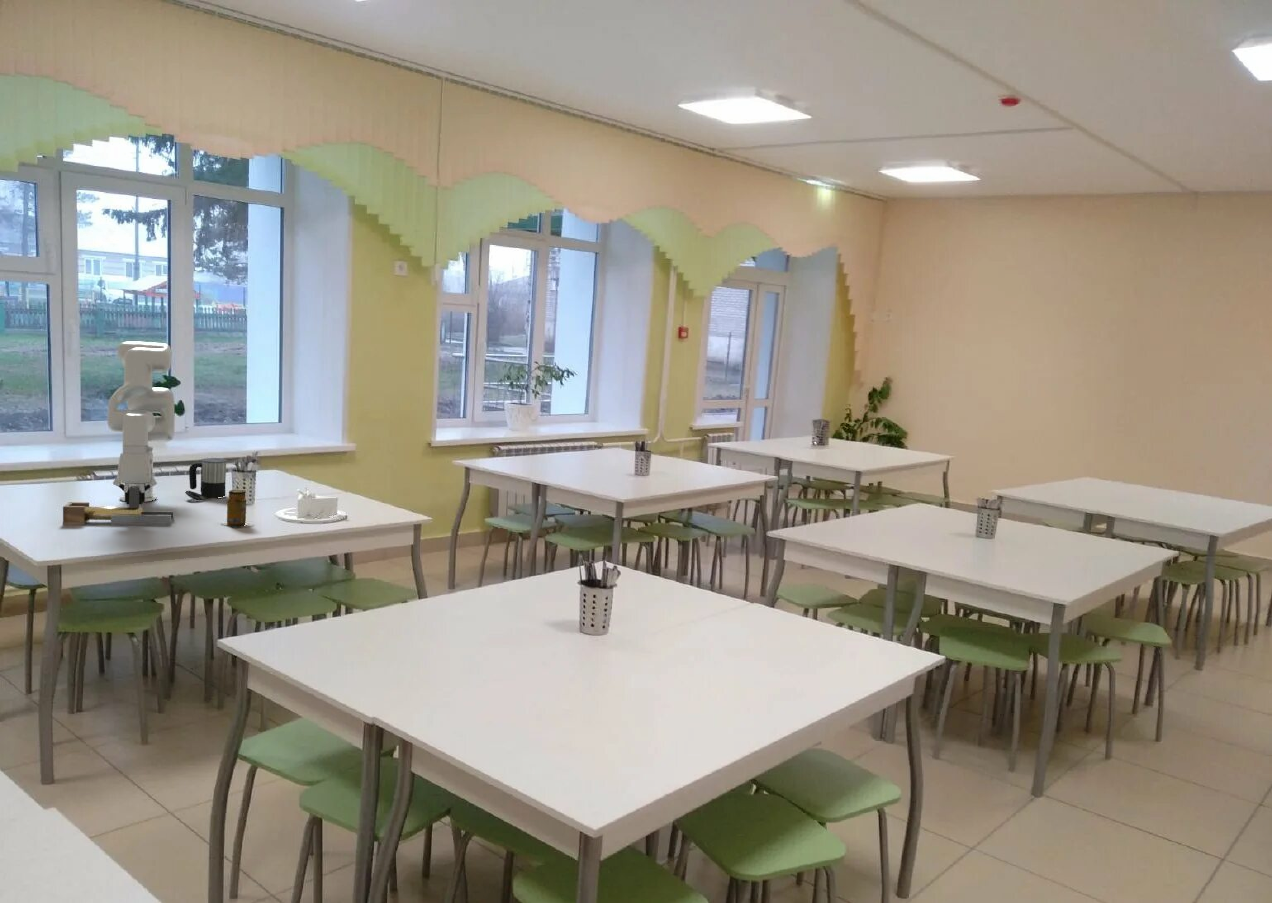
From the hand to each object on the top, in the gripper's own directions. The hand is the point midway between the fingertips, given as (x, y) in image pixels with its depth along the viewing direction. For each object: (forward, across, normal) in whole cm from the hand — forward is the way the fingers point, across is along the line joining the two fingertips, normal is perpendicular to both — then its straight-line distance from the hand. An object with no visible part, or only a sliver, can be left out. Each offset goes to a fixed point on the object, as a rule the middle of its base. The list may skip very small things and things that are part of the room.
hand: (134, 503), depth 324 cm
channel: (+7, -2, 0) cm, 7 cm away
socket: (+7, +18, 0) cm, 19 cm away
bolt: (+7, +8, 0) cm, 10 cm away
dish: (+7, -57, -13) cm, 58 cm away
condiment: (+7, -32, +3) cm, 33 cm away
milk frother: (+7, -18, -45) cm, 49 cm away
